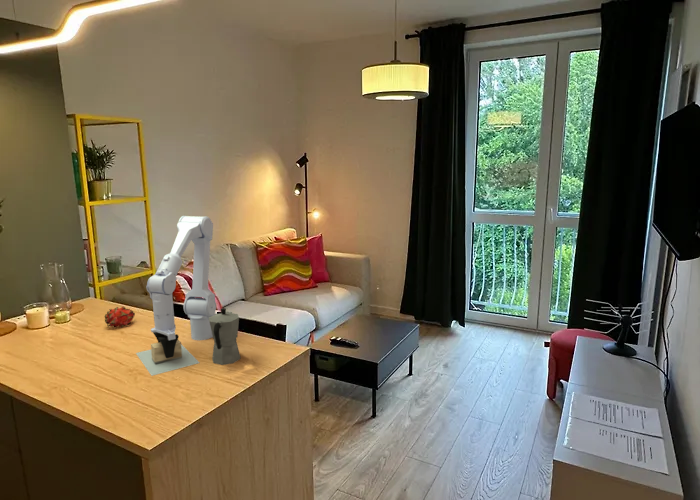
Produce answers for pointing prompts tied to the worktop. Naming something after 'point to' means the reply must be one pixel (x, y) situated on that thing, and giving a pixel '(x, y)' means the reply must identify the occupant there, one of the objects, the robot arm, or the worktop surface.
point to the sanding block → (159, 352)
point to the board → (166, 362)
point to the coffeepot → (225, 337)
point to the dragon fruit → (119, 317)
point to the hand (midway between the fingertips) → (167, 354)
